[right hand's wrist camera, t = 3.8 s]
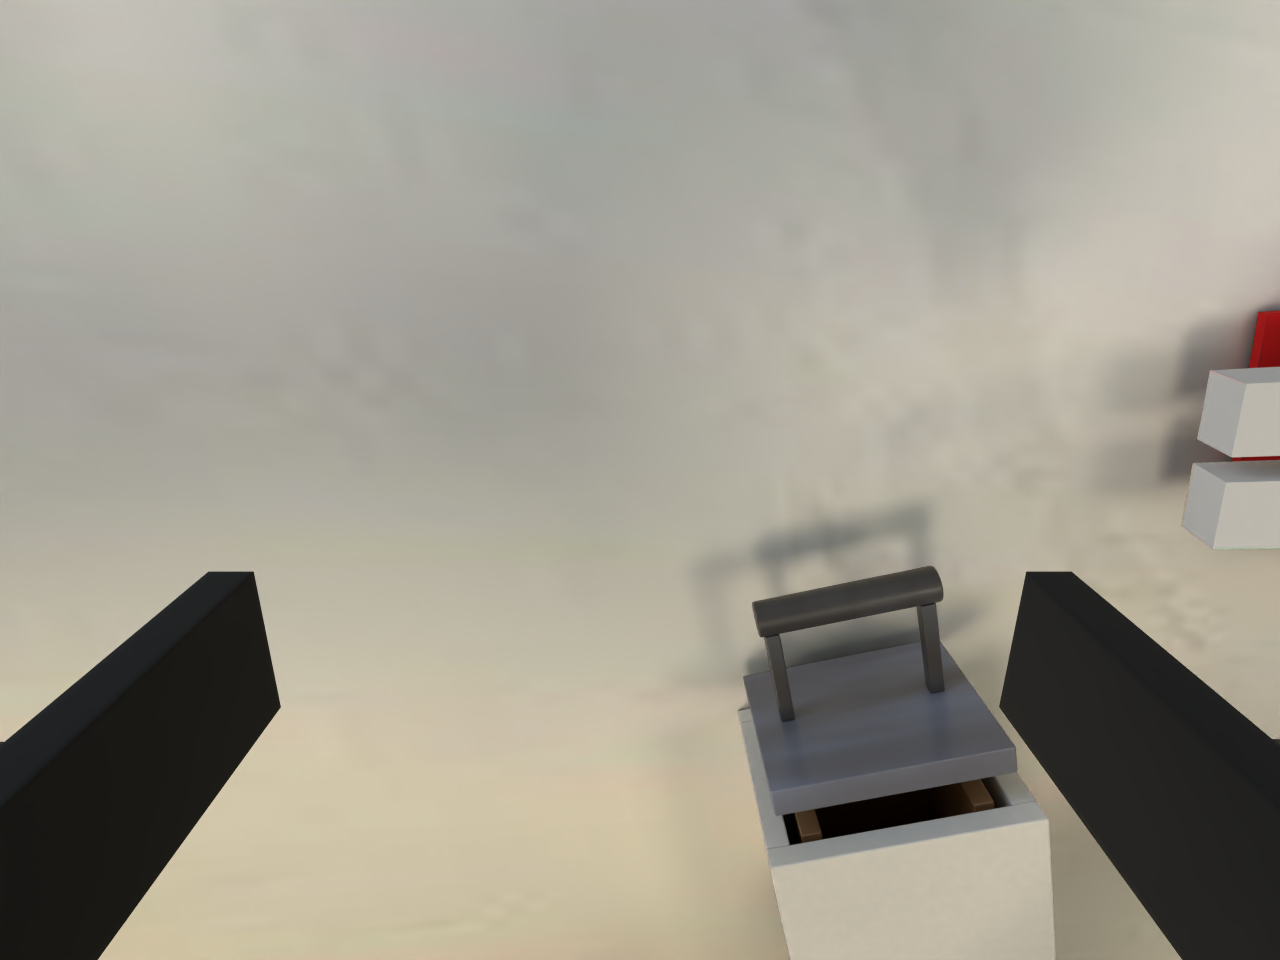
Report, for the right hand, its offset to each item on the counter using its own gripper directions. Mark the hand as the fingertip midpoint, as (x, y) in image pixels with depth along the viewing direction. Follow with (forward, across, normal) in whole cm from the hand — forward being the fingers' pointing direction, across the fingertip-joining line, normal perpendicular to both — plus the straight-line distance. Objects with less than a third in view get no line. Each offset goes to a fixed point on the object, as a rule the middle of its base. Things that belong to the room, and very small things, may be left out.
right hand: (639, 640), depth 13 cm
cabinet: (+19, -12, +23) cm, 32 cm away
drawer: (+18, -10, +17) cm, 27 cm away
